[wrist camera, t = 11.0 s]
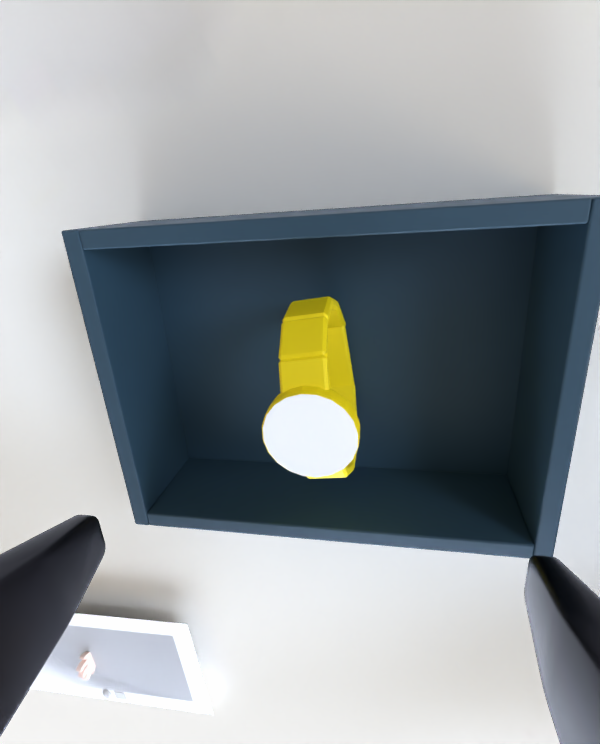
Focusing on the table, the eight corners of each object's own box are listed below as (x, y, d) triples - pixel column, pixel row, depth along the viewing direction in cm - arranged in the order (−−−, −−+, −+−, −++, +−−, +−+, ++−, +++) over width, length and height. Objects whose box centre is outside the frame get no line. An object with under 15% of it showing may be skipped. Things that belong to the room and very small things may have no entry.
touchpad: (-16, 589, 29) (-45, 618, 27) (195, 607, 26) (178, 642, 24) (25, 670, 32) (1, 702, 30) (219, 696, 28) (206, 734, 27)
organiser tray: (556, 194, 15) (621, 195, 10) (517, 478, 19) (552, 561, 15) (139, 221, 18) (60, 230, 13) (184, 460, 22) (135, 524, 18)
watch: (286, 289, 17) (235, 335, 12) (358, 278, 16) (341, 322, 11) (312, 427, 19) (280, 521, 14) (377, 422, 18) (371, 519, 13)
